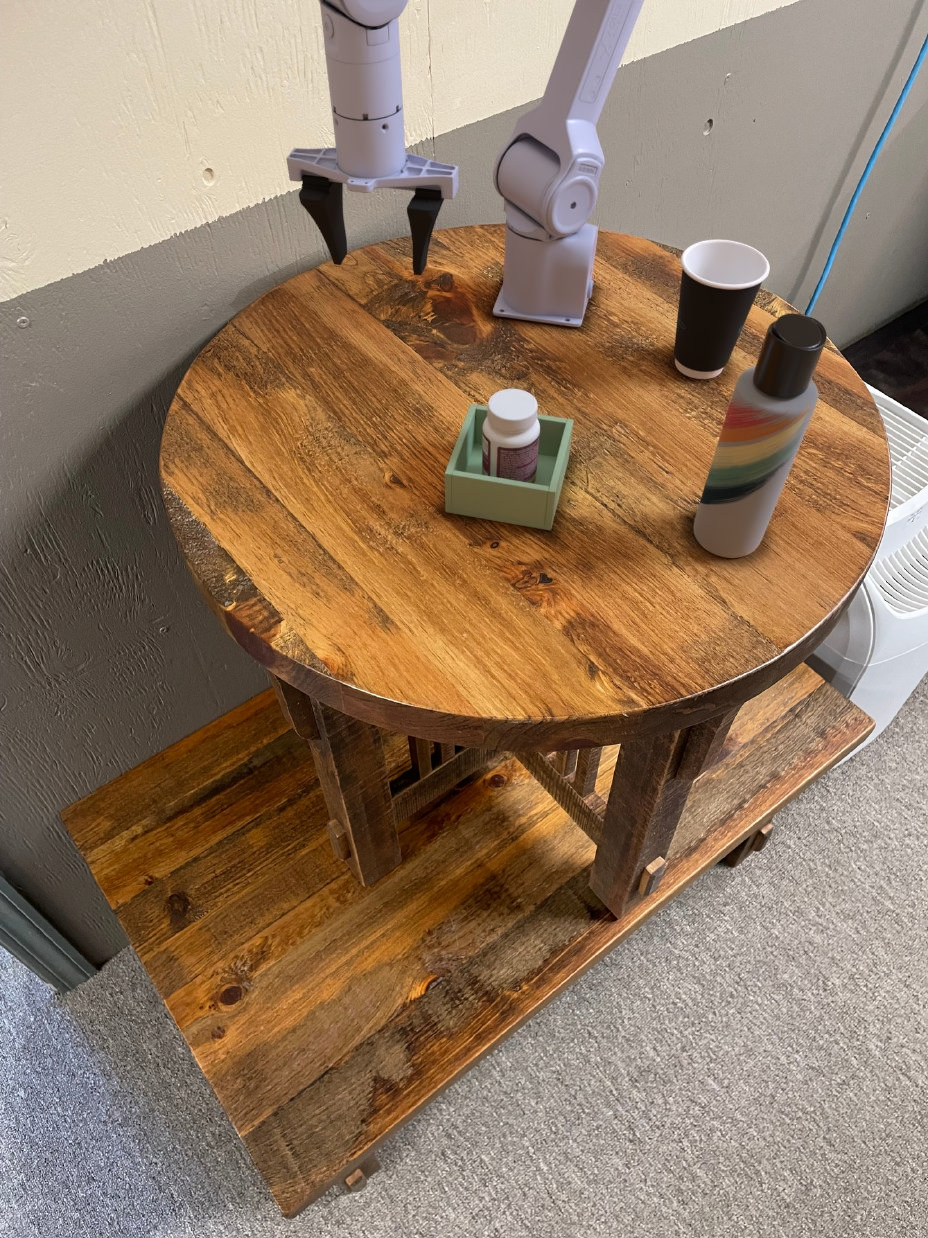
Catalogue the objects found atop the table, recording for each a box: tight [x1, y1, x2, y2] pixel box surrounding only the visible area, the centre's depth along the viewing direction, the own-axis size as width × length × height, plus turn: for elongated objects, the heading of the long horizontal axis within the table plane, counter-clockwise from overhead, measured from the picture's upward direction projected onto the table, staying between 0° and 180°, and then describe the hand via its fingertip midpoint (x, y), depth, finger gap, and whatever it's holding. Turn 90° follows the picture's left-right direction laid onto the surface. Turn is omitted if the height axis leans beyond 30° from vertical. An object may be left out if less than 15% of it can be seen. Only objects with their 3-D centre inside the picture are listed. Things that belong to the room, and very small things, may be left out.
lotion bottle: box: [693, 312, 828, 559], centre depth 65 cm, size 6×6×20 cm
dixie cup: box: [673, 239, 771, 380], centre depth 82 cm, size 8×8×11 cm
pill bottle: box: [482, 388, 540, 484], centre depth 72 cm, size 5×5×8 cm
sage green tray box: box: [444, 403, 575, 531], centre depth 74 cm, size 9×9×4 cm
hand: (380, 264), depth 80 cm, fingers open, 7 cm apart
